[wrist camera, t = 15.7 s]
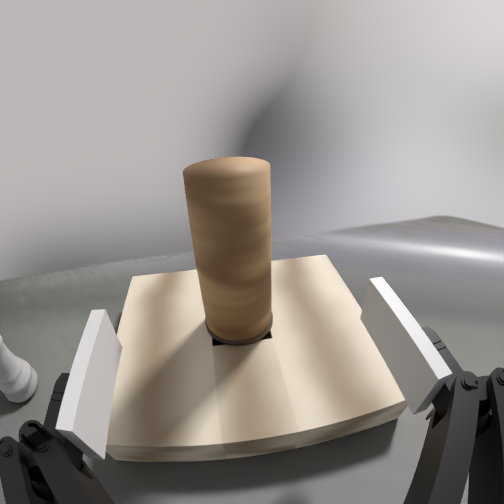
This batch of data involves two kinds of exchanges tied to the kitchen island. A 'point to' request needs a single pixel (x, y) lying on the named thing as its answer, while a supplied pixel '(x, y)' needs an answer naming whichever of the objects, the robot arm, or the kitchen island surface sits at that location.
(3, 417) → the kitchen island surface
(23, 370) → the rook chess piece
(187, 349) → the birch board
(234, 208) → the oak leg
